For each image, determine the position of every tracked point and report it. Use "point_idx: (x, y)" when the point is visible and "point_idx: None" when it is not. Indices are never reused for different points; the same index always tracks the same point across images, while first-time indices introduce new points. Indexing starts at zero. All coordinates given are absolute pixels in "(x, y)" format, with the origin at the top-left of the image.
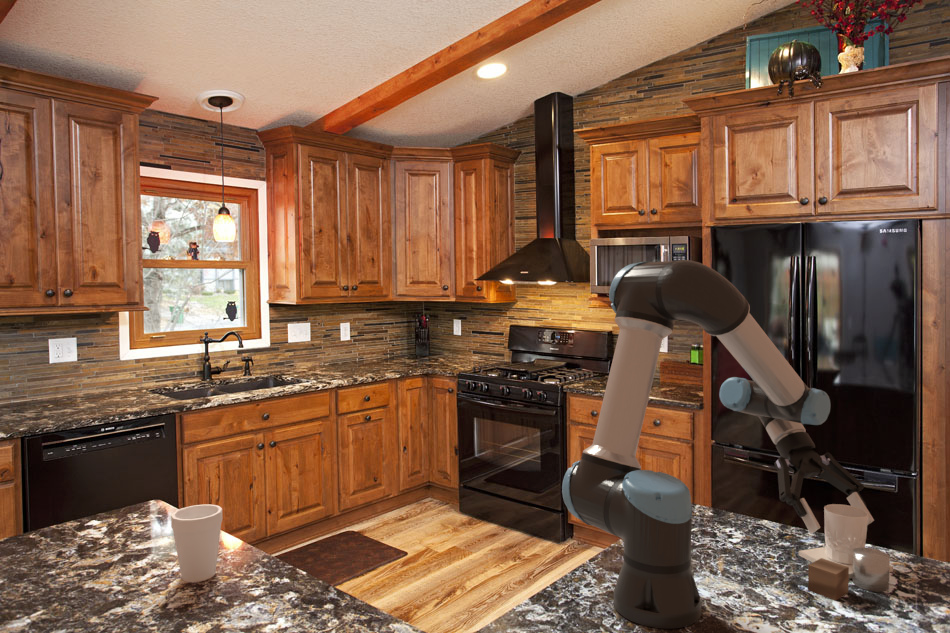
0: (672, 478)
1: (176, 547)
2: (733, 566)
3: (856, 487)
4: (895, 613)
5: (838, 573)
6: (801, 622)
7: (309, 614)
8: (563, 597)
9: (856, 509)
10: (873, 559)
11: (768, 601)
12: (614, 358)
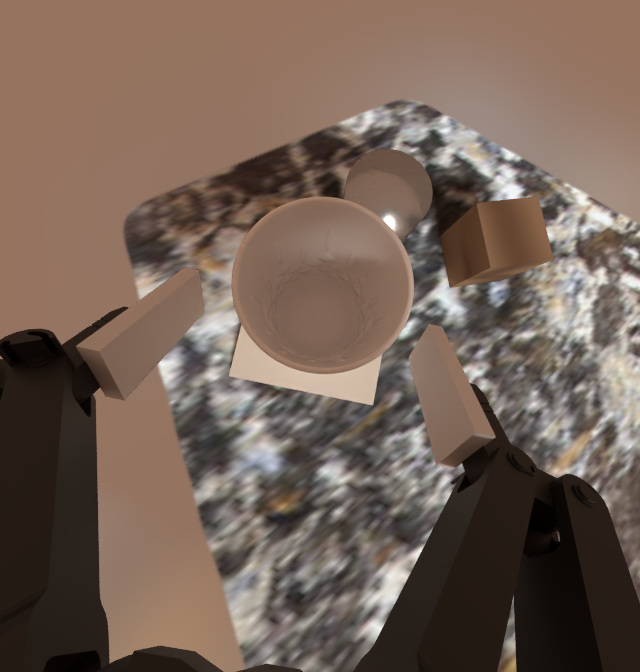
0: None
1: None
2: (550, 434)
3: (16, 367)
4: (438, 152)
5: (524, 199)
6: (606, 215)
7: None
8: None
9: (241, 283)
10: (419, 167)
11: (600, 289)
12: None
